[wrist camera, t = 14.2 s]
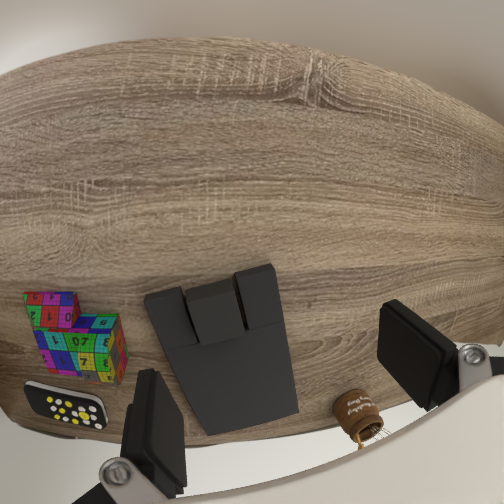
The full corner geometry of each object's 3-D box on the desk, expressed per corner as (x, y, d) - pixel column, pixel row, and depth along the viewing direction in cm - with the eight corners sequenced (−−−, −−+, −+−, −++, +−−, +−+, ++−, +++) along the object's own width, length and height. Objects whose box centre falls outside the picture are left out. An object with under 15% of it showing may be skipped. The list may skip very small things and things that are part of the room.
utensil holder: (359, 410, 39) (393, 460, 28) (325, 418, 38) (356, 474, 27) (370, 384, 38) (410, 436, 26) (335, 392, 36) (372, 451, 25)
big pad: (145, 294, 27) (143, 301, 26) (270, 263, 29) (274, 268, 27) (206, 428, 34) (207, 436, 33) (296, 405, 36) (299, 412, 34)
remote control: (24, 377, 27) (19, 385, 25) (101, 394, 30) (98, 404, 28) (36, 406, 28) (32, 415, 27) (110, 423, 31) (107, 433, 29)
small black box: (186, 289, 28) (186, 302, 25) (230, 278, 28) (234, 290, 26) (200, 330, 29) (201, 346, 27) (241, 320, 30) (246, 335, 27)
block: (114, 291, 26) (95, 324, 20) (128, 356, 29) (118, 396, 22) (24, 291, 24) (-5, 319, 18) (43, 351, 27) (23, 384, 20)
